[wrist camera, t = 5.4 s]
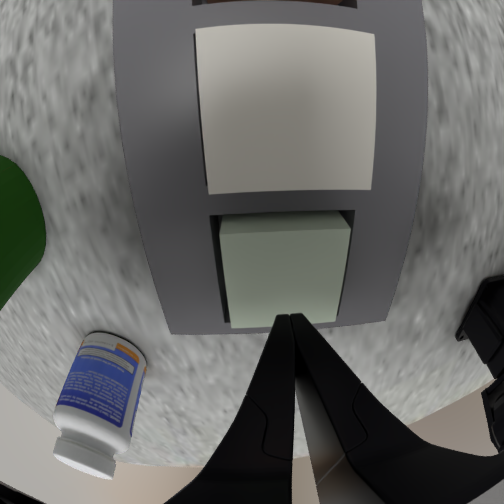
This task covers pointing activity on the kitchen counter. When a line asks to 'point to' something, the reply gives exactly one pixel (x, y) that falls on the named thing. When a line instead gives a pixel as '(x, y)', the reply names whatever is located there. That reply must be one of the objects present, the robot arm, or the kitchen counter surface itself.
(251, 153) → the key white
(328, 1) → the key terracotta
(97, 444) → the pill bottle
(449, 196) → the kitchen counter surface
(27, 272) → the candle
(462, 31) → the kitchen counter surface
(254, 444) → the robot arm
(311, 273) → the key sage
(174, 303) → the keypad
